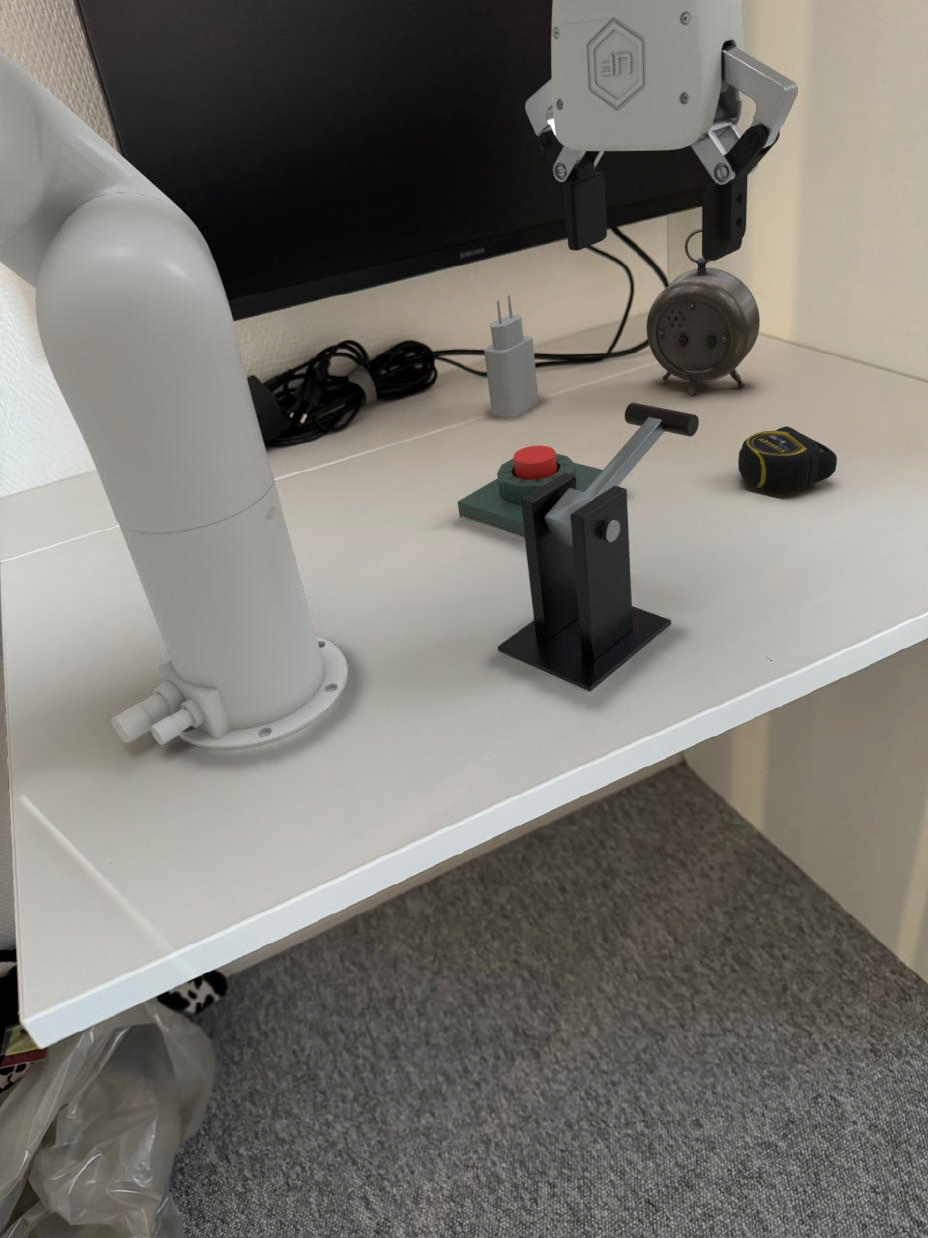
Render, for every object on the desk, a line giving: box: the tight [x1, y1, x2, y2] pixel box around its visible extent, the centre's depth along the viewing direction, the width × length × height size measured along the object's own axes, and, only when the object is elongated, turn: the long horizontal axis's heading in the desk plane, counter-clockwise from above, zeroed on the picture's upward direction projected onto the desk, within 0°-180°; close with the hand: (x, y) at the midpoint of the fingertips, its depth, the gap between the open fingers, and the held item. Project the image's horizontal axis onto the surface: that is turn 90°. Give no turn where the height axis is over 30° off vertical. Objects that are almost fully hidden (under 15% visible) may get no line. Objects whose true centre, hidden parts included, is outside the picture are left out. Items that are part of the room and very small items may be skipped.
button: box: [512, 445, 557, 480], centre depth 80 cm, size 4×4×2 cm
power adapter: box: [483, 294, 539, 419], centre depth 100 cm, size 3×5×12 cm, turn 140°
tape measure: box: [737, 426, 838, 493], centre depth 80 cm, size 7×7×4 cm
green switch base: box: [457, 453, 620, 538], centre depth 82 cm, size 11×9×4 cm
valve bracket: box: [497, 473, 672, 692], centre depth 62 cm, size 9×8×12 cm
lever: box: [544, 402, 700, 549], centre depth 61 cm, size 12×5×2 cm, turn 136°
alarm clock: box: [646, 228, 761, 396], centre depth 97 cm, size 11×5×16 cm, turn 58°
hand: (651, 249), depth 57 cm, fingers open, 9 cm apart
